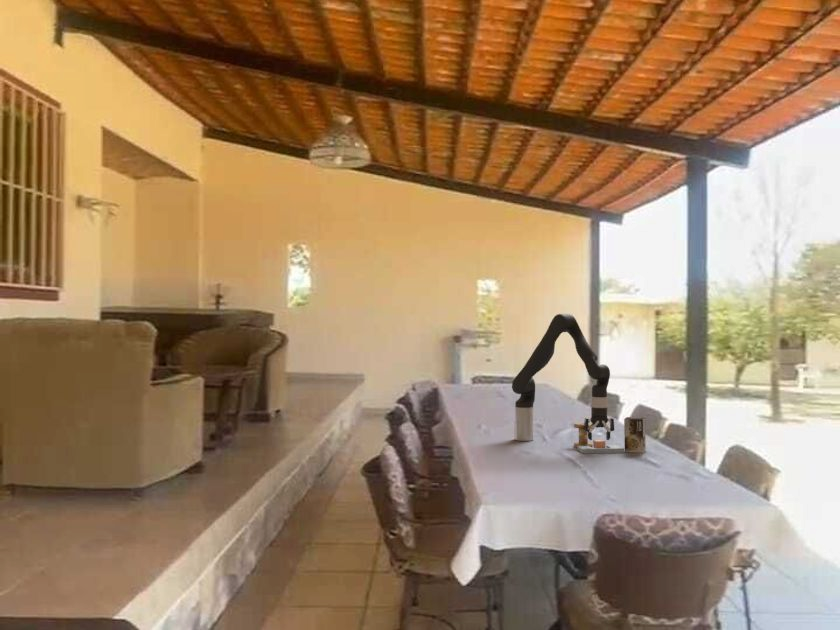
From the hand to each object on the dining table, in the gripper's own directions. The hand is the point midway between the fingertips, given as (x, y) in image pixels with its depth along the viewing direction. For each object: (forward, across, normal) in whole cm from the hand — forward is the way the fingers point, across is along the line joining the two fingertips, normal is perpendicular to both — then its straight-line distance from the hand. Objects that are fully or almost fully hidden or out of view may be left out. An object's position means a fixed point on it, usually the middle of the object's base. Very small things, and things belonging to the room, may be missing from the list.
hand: (599, 439), depth 419 cm
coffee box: (+5, +16, -5) cm, 18 cm away
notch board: (+5, 0, -2) cm, 5 cm away
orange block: (+5, 0, 0) cm, 5 cm away
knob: (+5, -4, +13) cm, 15 cm away
